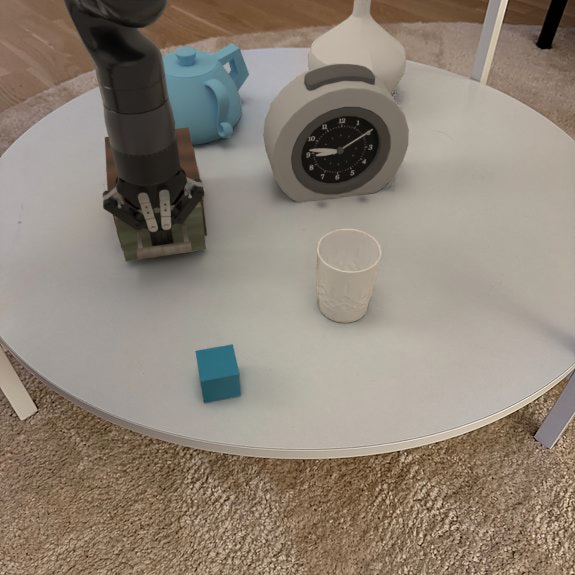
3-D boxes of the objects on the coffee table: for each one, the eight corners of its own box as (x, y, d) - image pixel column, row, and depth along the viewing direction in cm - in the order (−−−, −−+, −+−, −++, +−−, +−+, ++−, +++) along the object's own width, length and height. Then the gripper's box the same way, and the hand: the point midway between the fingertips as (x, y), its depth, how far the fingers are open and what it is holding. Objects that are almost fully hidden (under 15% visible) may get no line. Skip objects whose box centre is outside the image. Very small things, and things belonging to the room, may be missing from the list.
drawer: (211, 273, 83) (206, 230, 77) (127, 286, 81) (116, 243, 75) (194, 192, 95) (189, 150, 90) (121, 202, 93) (111, 160, 88)
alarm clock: (272, 205, 95) (271, 89, 80) (263, 177, 100) (261, 63, 85) (400, 189, 98) (421, 74, 84) (385, 163, 103) (403, 50, 89)
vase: (419, 99, 118) (437, -3, 104) (356, 133, 109) (367, 28, 95) (350, 66, 127) (358, -31, 113) (287, 96, 118) (288, -6, 104)
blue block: (203, 403, 70) (200, 381, 66) (198, 372, 72) (195, 350, 69) (241, 396, 70) (239, 374, 67) (234, 366, 73) (232, 343, 70)
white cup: (381, 297, 81) (392, 242, 74) (356, 336, 77) (364, 281, 69) (330, 275, 84) (335, 220, 77) (302, 311, 79) (305, 257, 72)
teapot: (250, 100, 117) (247, 29, 107) (236, 157, 104) (230, 82, 94) (153, 95, 118) (141, 24, 108) (127, 150, 105) (110, 76, 95)
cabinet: (207, 235, 90) (201, 183, 83) (121, 248, 88) (107, 195, 81) (194, 178, 99) (188, 127, 92) (117, 188, 97) (104, 136, 90)
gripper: (82, 160, 65) (114, 273, 77) (205, 144, 67) (216, 257, 79) (82, 123, 70) (112, 235, 82) (196, 110, 72) (208, 221, 84)
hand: (163, 246), depth 81 cm, fingers closed
